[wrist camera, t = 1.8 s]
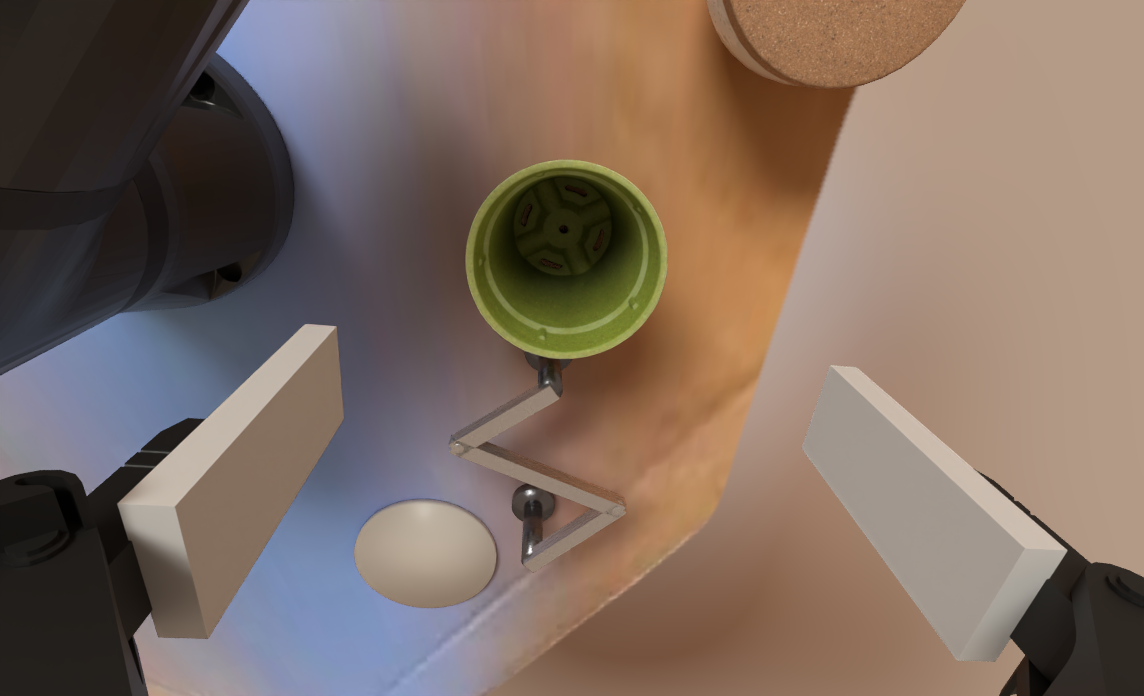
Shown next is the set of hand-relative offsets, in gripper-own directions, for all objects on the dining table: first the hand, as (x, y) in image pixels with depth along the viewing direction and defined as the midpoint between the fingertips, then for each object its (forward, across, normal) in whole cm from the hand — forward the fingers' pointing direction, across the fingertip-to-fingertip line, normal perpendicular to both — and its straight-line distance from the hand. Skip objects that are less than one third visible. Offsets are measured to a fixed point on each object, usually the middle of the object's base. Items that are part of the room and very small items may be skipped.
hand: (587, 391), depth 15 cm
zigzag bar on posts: (+20, 0, -14) cm, 25 cm away
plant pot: (+20, 0, 0) cm, 20 cm away
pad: (+20, -8, -27) cm, 35 cm away
